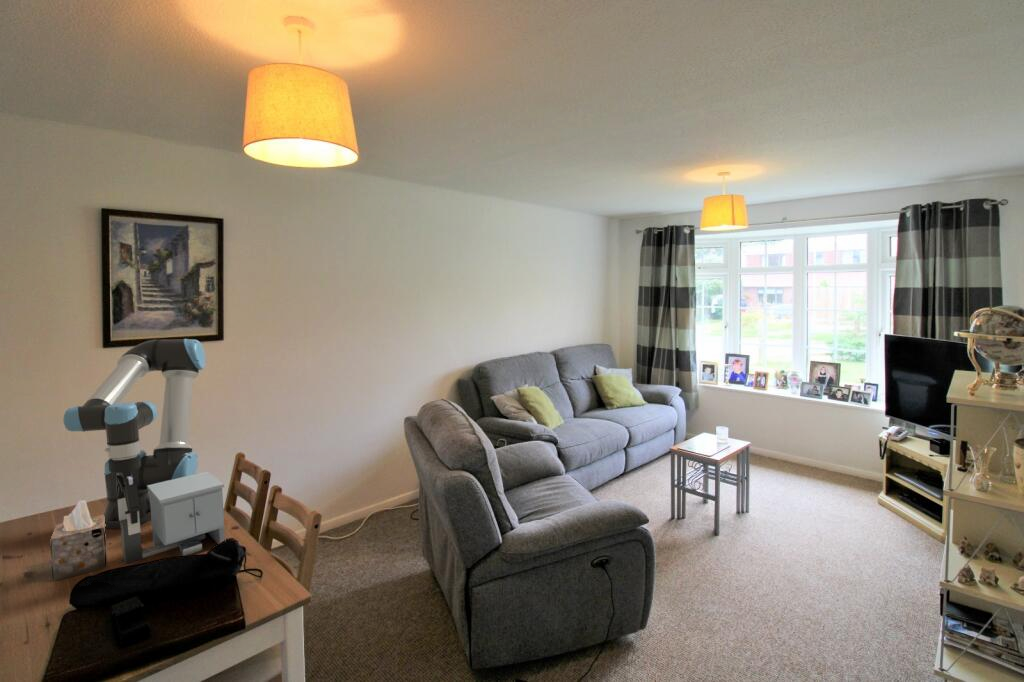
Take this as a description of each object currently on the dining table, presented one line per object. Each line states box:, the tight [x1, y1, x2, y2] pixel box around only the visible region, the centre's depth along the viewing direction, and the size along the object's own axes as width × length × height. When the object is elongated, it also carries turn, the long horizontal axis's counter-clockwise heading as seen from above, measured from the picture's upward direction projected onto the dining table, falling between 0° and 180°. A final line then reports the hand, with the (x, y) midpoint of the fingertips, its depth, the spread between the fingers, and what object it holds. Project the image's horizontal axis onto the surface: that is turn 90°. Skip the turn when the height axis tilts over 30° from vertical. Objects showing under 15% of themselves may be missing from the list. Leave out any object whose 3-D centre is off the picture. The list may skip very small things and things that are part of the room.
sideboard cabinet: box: [147, 471, 226, 547], centre depth 159 cm, size 17×17×20 cm
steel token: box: [178, 538, 203, 557], centre depth 158 cm, size 5×5×2 cm
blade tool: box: [120, 519, 206, 565], centre depth 158 cm, size 4×21×12 cm, turn 137°
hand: (129, 526), depth 151 cm, fingers open, 13 cm apart
